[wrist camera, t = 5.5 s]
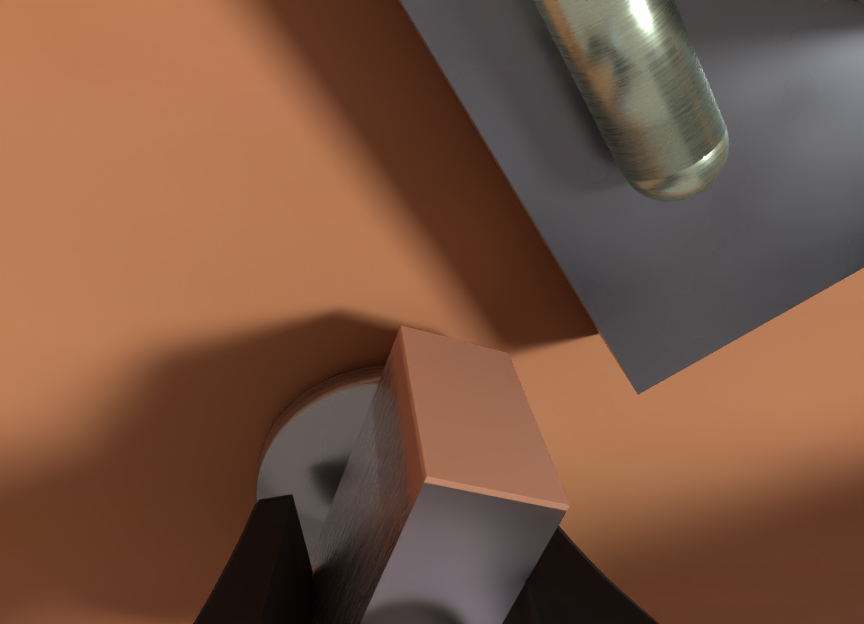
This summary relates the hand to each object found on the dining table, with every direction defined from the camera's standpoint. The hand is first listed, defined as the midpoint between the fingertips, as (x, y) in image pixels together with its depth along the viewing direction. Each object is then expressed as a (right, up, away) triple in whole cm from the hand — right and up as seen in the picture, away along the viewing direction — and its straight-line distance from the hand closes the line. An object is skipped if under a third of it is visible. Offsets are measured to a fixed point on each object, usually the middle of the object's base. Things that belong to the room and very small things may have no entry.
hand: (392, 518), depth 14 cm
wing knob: (0, +1, +1) cm, 2 cm away
